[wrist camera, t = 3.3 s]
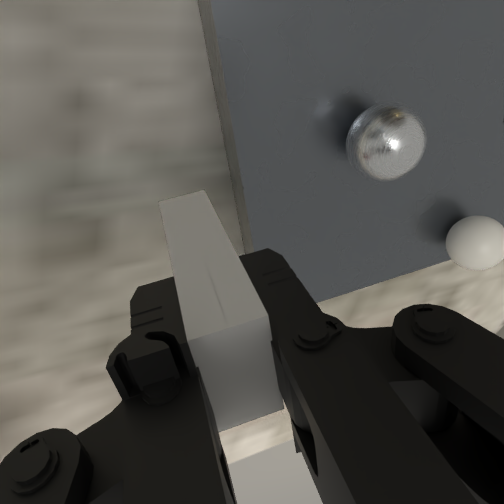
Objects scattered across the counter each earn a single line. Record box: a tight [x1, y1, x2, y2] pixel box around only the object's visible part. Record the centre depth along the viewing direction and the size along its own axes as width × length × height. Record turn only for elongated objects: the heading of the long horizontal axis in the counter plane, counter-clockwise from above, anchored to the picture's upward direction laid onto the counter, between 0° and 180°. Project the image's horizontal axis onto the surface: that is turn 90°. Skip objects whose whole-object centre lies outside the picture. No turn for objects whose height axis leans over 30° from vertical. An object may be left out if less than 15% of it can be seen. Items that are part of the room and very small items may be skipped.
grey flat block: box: [198, 0, 504, 303], centre depth 20 cm, size 24×20×2 cm
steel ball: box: [346, 102, 427, 182], centre depth 16 cm, size 3×3×3 cm
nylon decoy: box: [446, 215, 504, 270], centre depth 21 cm, size 3×3×3 cm
